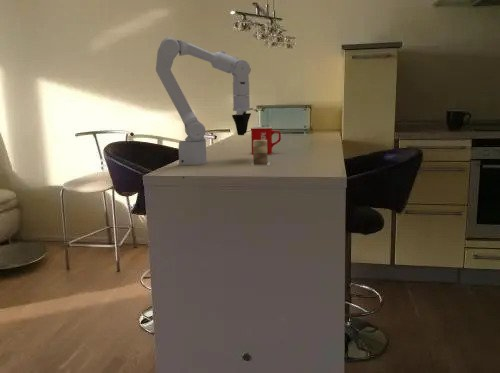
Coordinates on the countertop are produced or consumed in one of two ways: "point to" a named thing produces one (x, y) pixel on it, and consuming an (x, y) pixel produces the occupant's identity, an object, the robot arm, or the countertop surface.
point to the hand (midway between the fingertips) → (242, 134)
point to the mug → (264, 136)
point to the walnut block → (260, 158)
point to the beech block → (260, 146)
